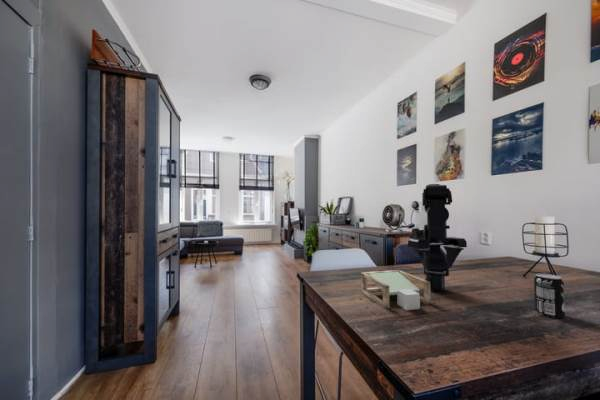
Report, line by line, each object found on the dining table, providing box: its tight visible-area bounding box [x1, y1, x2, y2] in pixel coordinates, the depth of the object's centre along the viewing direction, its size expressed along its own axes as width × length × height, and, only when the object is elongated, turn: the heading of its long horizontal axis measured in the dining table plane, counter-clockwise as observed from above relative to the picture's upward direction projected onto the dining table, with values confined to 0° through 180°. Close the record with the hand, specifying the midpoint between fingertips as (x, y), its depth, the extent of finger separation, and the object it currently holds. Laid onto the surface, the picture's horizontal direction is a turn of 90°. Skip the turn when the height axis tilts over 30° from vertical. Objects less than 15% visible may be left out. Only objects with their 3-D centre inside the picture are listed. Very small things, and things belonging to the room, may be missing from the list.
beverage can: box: [533, 273, 566, 319], centre depth 77 cm, size 7×7×12 cm
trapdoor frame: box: [360, 269, 432, 309], centre depth 91 cm, size 18×18×8 cm
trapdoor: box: [369, 272, 421, 296], centre depth 92 cm, size 13×13×1 cm
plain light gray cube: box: [396, 289, 421, 311], centre depth 83 cm, size 5×5×5 cm
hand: (437, 268), depth 82 cm, fingers open, 9 cm apart
